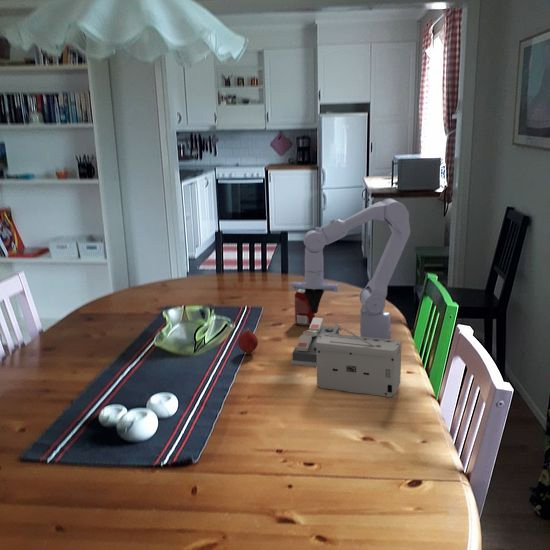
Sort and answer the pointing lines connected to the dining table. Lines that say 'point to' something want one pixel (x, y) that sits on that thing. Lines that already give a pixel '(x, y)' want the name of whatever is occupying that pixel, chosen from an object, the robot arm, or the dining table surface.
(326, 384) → the stereo radio cassette player
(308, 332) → the rocker middle
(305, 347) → the rocker
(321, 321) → the rocker
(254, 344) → the onion
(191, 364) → the dining table surface
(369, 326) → the robot arm
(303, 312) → the soda can
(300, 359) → the power strip
